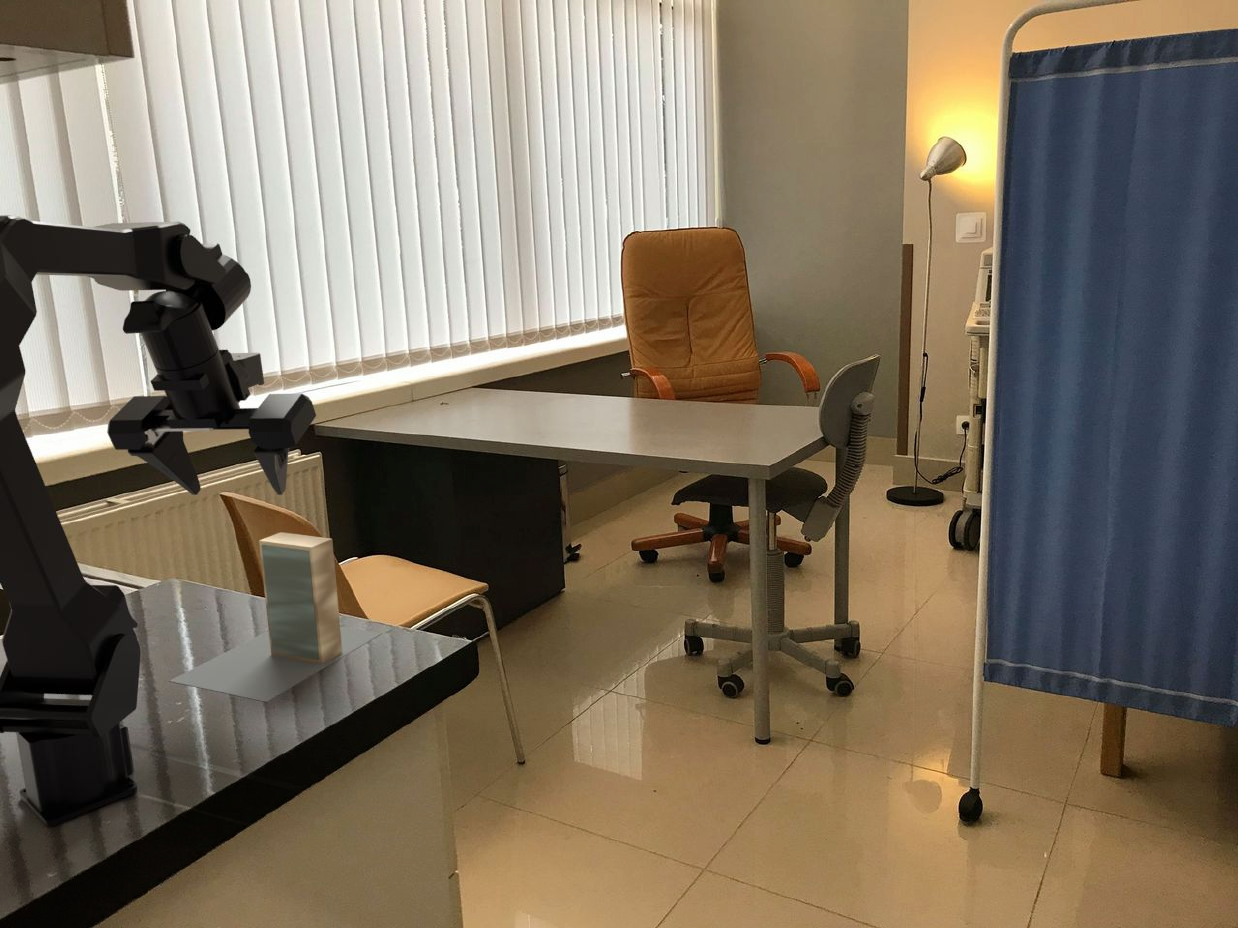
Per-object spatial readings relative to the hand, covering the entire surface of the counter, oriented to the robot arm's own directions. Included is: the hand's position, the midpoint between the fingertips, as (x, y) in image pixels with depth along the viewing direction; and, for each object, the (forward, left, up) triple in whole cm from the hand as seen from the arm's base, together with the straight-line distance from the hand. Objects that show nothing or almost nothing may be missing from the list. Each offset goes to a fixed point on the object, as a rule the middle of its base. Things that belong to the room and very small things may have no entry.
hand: (239, 492), depth 100 cm
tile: (+2, -7, -16) cm, 18 cm away
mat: (0, -5, -17) cm, 17 cm away
